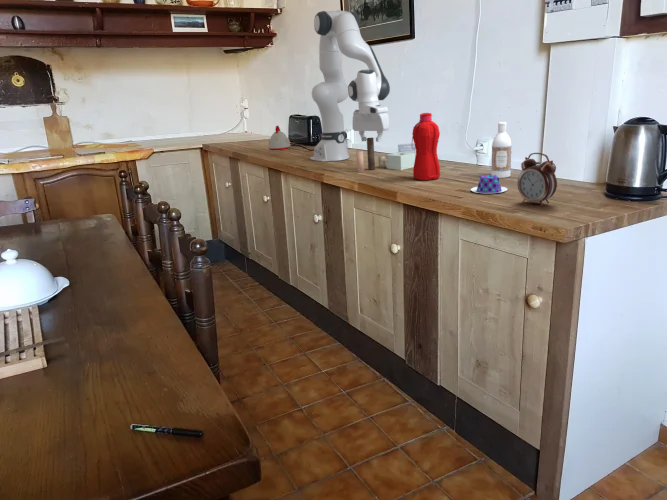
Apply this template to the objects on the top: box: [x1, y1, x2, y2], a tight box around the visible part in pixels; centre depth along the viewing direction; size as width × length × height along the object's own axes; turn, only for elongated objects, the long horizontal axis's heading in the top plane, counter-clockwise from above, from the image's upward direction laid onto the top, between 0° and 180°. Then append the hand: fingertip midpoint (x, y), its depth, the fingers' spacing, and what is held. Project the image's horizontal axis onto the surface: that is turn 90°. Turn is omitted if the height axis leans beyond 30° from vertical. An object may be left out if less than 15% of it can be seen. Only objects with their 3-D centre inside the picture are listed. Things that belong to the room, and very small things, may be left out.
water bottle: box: [411, 112, 441, 182], centre depth 198 cm, size 9×11×25 cm
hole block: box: [385, 151, 415, 171], centre depth 230 cm, size 9×9×6 cm
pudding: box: [470, 174, 508, 195], centre depth 173 cm, size 12×12×5 cm
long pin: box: [366, 137, 376, 171], centre depth 229 cm, size 3×3×14 cm
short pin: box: [377, 155, 386, 169], centre depth 234 cm, size 3×3×5 cm
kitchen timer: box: [268, 125, 292, 151], centre depth 330 cm, size 14×14×15 cm
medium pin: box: [356, 150, 365, 173], centre depth 226 cm, size 3×3×9 cm
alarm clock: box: [517, 152, 558, 207], centre depth 150 cm, size 11×5×15 cm, turn 33°
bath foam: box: [490, 121, 513, 179], centre depth 192 cm, size 7×7×20 cm
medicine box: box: [397, 143, 416, 157], centre depth 241 cm, size 8×4×9 cm, turn 84°
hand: (371, 141), depth 227 cm, fingers open, 8 cm apart
